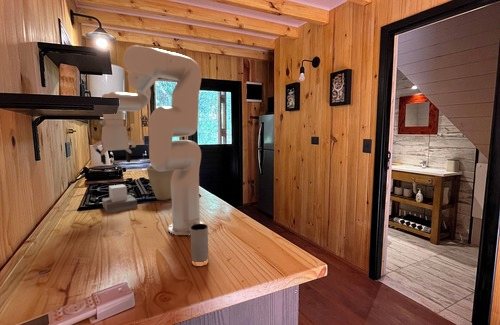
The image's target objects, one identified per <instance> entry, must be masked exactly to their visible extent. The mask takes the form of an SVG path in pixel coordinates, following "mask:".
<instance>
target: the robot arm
mask: <svg viewBox="0 0 500 325" xmlns="http://www.w3.org/2000/svg"><path fill="white" fill-rule="evenodd" d="M122 58H123V66H125V68H126V69H127V70H128V71H130V72H128V74H127V81H128V83H129V85H130V86H131V87H132V88H133V89H134V90H135V91H136V93H133V92H123V91H111V92H109V93H104V94H102V96H101V98H102V97H108V98H119V100H120V107H119V109H118V111H117V113H116V114H115V113H114V114H103V113H102V117H103V118H102V120H100V121H99V125H103V126H102V129H101V140H99V141H97V142H96V143H93V144H92V145H91V147H92V148H93V149H94V150H95V152H97V154H99V155H100V161H101V163H102V164H103V165H106V164H107V160H106V158H107V157H106V154H105V153H106V152H107V151H125V152H126V153H125V155H126V158H125V160H126V162H127V163H131V161H132V153H133V152H134V150H135V149H136V146H137V142H135V141H132V140H130V139H129V134H128V131H127V127H126V126H124V113H123V112H140V111H142V110H143V109H144V108H145V107H146V106H147V105H148V104H149V102H150V101H151V95H152V90H151V87H152V86H153V85H154V84H155V82H157V80H158V79H163V80H170V81H177V83H176V85H175V86H174V88H173V90H172V94H171V106H158V107H157V108H155V109H153V111H152V112H151V114H150V117H149V122H148V130H149V131H148V156H149V163H150V166H152V167H153V168H154V169H155V170H157V171H160V172H165V171H171V170H174V172H173V174H172V178H171V198H170V200H171V222H172V223H171V224H169V225H168V227H167V231H169V232H170V233H169V232H168V233H169V234H171V233H172V234H171V235H173V234H176V235H175V236H177V235H188V236H190V235H189V234H191V231H190V227H191V226H192V225H195V224H205V223H204V222H202V221H201V217H200V216H201V215H200V212H201V211H200V209H201V208H200V207H201V206H200V166H201V161H202V150H201V148H200V146H199V144H198V143H197V142H196V141H194V140H188V139H180V140H178V139H177V140H173V138H178V137H179V138H181V137H189V136H193V135H194V134H195V133H196V132H197V130H198V126H199V98H200V97H199V96H200V95H199V94H200V88H201V83H202V71H201V68H200V66H199V64H198V63H197V61H196V60H195V59H193V58H191V57H189V56H186V55H183V54H181V53H176V52H171V51H167V50H164V49H159V48H154V47H148V46H143V45H137V44H136V45H135V44H133V45H130V46H129V47H127V48H126V50H125V51H124V54H123V57H122ZM130 144H131V147H130ZM100 145H101V148H102V149H101V150H100V149H99V148H98V147H99V146H100Z"/></svg>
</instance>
